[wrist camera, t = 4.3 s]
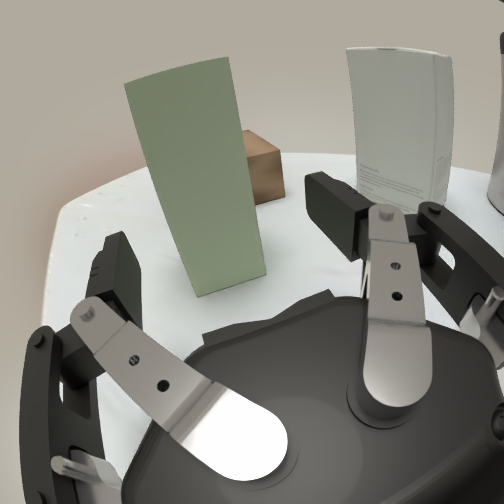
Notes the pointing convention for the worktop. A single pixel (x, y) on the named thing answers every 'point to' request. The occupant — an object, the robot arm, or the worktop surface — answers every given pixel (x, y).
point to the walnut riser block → (263, 168)
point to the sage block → (200, 170)
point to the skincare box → (402, 124)
